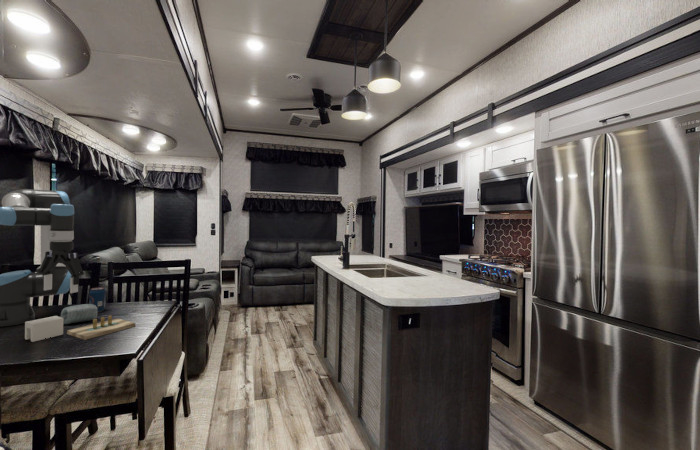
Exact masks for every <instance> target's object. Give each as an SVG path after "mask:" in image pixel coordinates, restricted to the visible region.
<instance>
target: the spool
mask: <svg viewBox="0 0 700 450" xmlns="http://www.w3.org/2000/svg"><path fill="white" fill-rule="evenodd" d="M98 313H99V312H97V307H96V306H95V305H93V304H89V303H84V304H83V303H82V304H75V305H70V306H67V307H63V309H62V310H61V311H60V317H61V318H63V325H70V324H75V323H82V322H90V321H93V319H97V317H98Z"/></svg>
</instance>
